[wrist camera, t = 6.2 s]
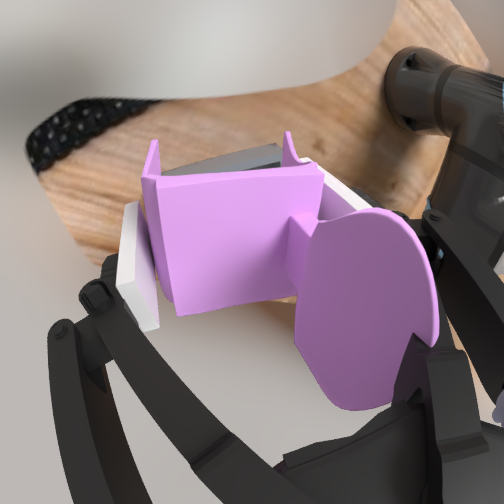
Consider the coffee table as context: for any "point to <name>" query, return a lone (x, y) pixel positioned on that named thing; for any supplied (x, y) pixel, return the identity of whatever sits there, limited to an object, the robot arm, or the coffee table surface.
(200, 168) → the tray
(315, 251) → the toy chair
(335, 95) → the coffee table surface
